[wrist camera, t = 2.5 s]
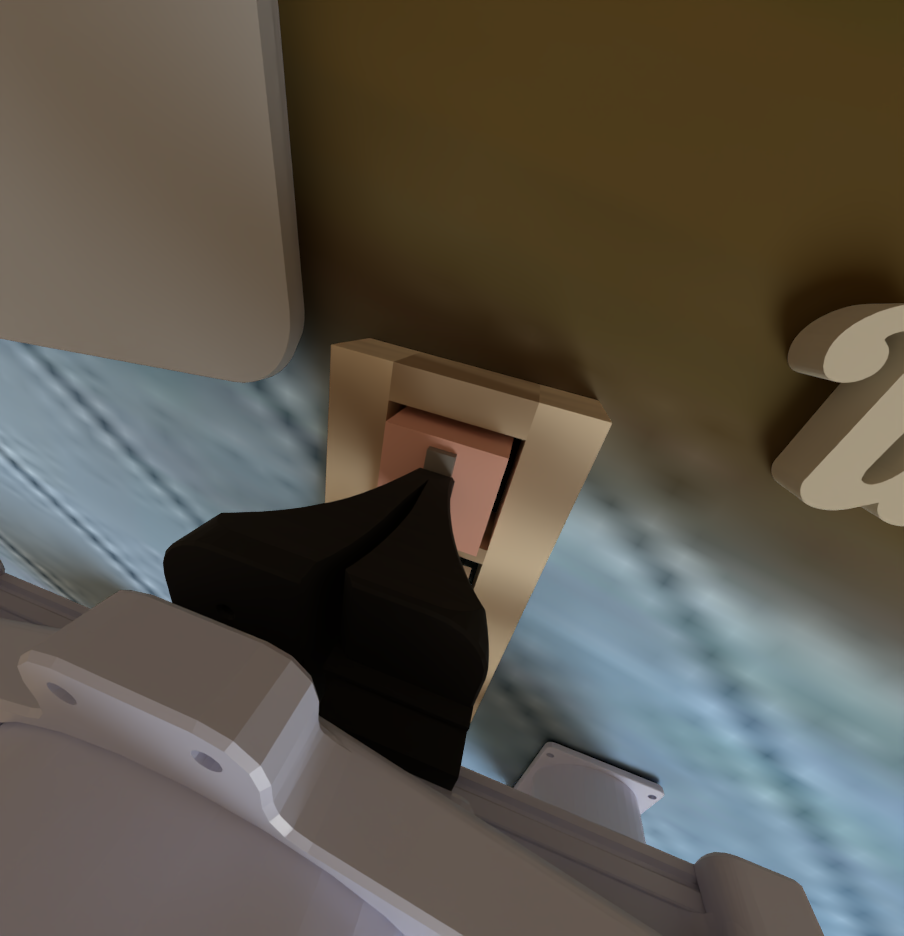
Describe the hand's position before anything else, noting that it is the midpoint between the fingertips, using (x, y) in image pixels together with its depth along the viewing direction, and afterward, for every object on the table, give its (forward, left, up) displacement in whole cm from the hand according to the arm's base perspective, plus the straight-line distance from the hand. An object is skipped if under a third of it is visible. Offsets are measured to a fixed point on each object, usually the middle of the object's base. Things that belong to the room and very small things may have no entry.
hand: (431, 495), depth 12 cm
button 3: (0, 0, -3) cm, 3 cm away
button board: (-6, 0, -4) cm, 7 cm away
